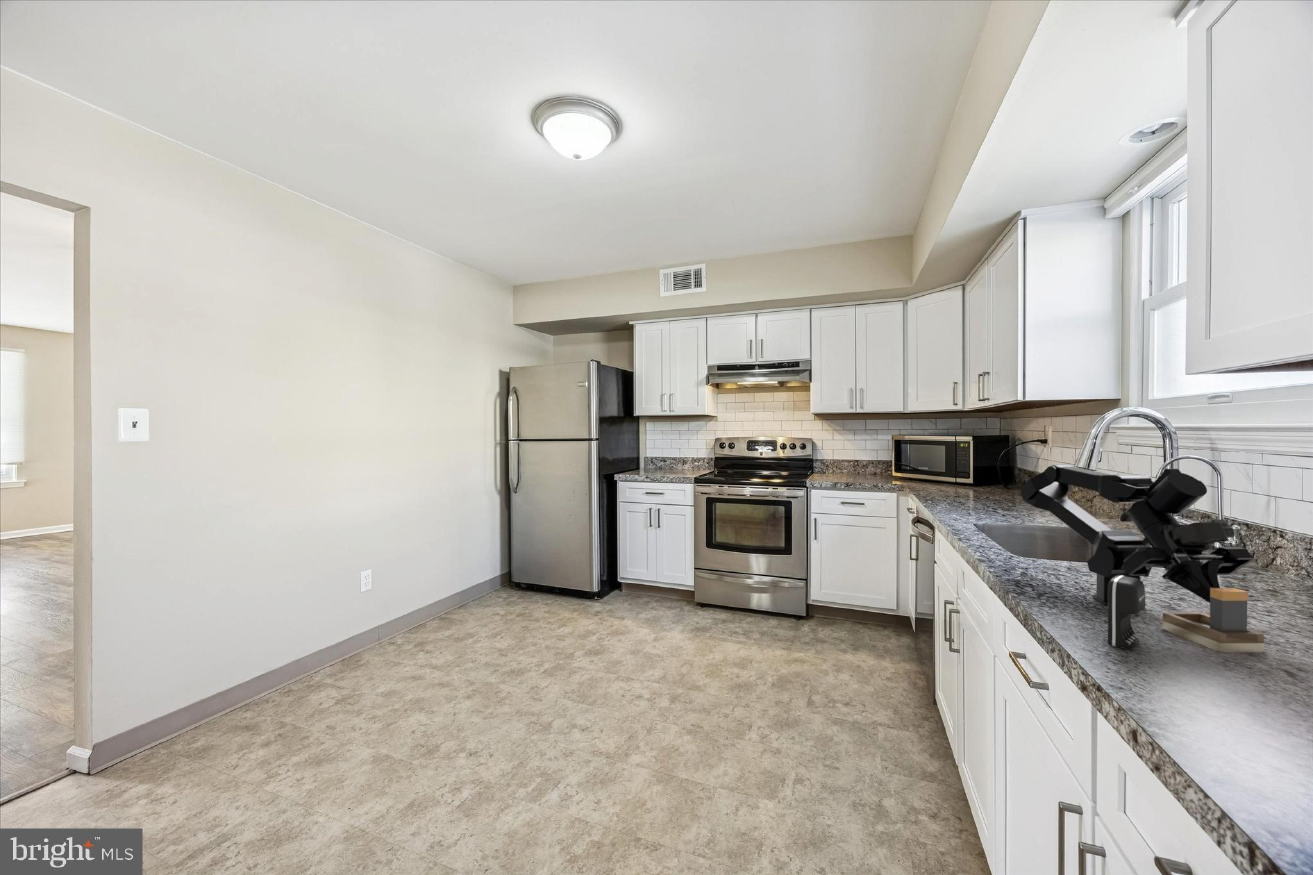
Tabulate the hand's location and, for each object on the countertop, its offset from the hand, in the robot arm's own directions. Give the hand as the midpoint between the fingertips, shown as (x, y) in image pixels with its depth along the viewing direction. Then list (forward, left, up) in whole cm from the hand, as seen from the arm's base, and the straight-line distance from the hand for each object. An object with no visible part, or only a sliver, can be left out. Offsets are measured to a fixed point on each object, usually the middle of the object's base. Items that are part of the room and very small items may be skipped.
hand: (1220, 605), depth 89 cm
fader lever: (0, -1, -5) cm, 5 cm away
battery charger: (-15, -4, -7) cm, 17 cm away
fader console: (0, +2, -7) cm, 7 cm away
